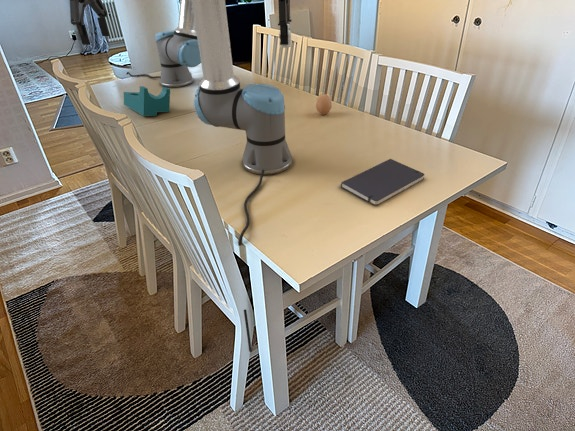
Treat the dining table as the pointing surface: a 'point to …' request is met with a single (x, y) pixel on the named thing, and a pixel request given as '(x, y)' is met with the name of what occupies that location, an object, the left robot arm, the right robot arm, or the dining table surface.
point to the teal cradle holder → (148, 101)
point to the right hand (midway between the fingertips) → (285, 42)
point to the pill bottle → (288, 38)
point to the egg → (323, 104)
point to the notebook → (382, 181)
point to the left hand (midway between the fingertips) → (96, 40)
